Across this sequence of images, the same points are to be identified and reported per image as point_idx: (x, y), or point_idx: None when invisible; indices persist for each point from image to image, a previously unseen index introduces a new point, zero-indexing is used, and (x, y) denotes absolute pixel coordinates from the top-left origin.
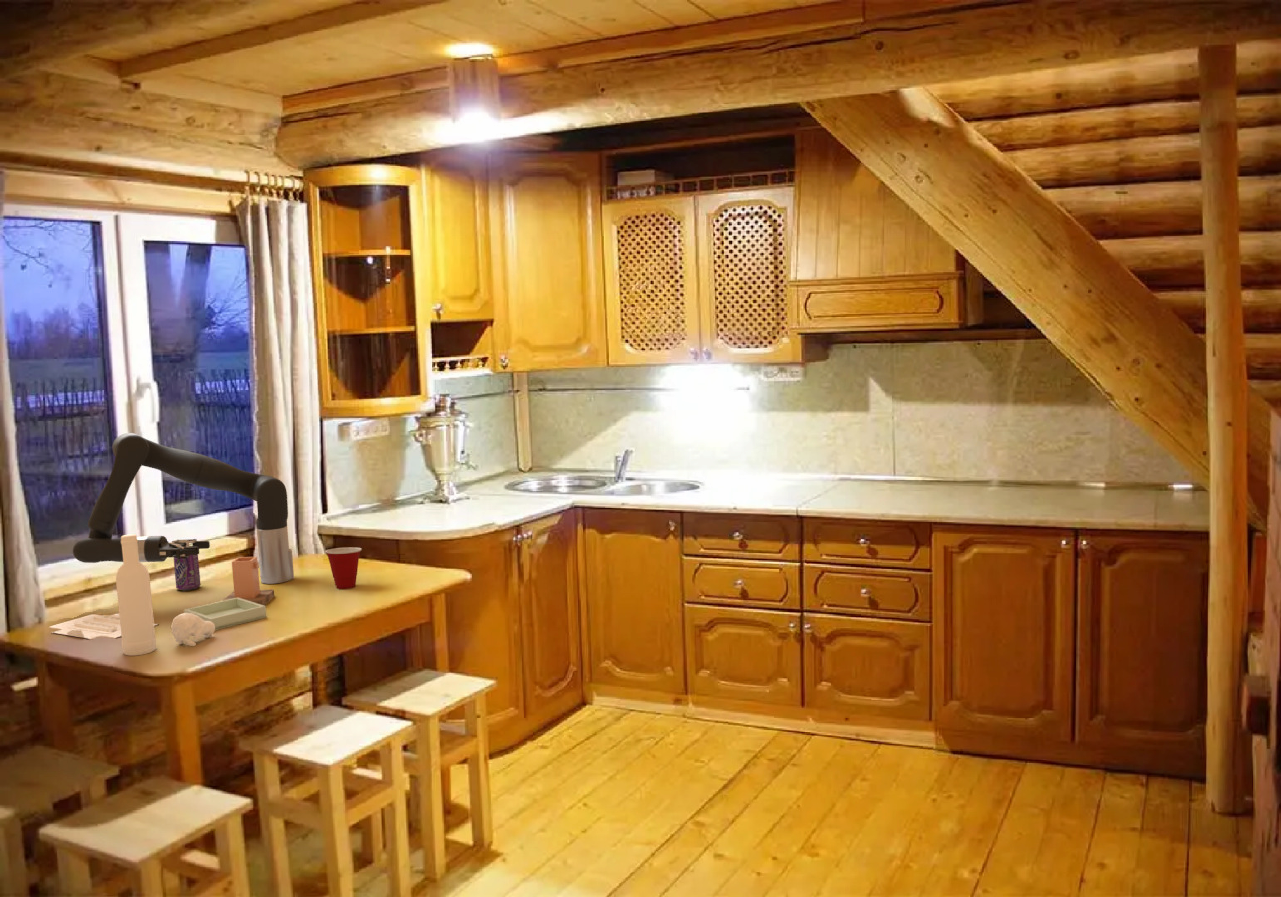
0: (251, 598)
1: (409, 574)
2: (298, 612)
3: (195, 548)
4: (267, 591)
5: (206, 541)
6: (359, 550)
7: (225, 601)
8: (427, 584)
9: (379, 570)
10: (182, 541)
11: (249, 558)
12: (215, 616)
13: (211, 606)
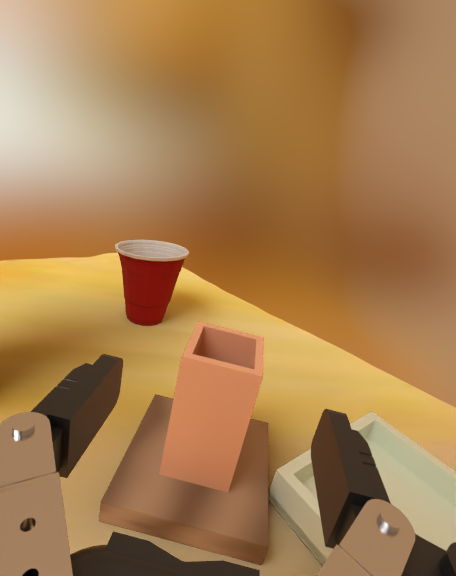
0: None
1: (113, 269)
2: (316, 385)
3: (345, 429)
4: (167, 407)
5: (117, 363)
6: (170, 244)
7: None
8: (186, 274)
9: (47, 276)
10: (66, 545)
11: (199, 337)
12: None
13: None
